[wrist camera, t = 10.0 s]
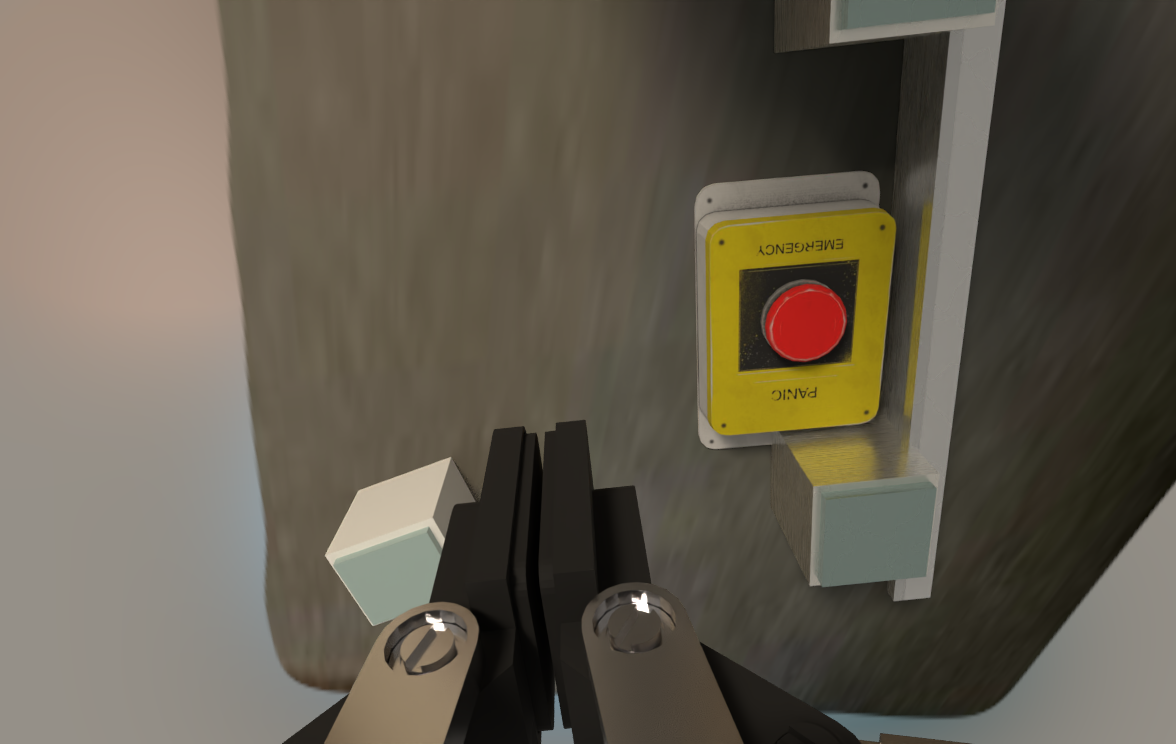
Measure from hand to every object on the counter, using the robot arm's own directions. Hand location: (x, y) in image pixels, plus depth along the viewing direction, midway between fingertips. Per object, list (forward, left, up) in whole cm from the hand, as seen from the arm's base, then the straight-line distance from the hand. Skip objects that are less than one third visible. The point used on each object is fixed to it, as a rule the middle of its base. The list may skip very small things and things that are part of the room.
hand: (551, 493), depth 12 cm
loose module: (+15, -10, -23) cm, 30 cm away
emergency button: (+6, +11, -24) cm, 27 cm away
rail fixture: (+2, +14, -23) cm, 28 cm away
